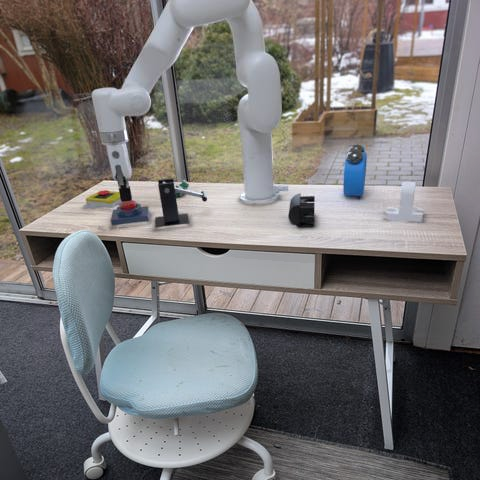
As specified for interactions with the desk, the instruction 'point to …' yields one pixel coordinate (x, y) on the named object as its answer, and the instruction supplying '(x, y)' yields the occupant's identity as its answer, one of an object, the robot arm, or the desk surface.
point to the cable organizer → (405, 206)
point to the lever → (191, 193)
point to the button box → (130, 215)
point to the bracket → (169, 205)
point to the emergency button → (103, 200)
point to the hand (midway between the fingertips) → (126, 200)
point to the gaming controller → (182, 187)
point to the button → (128, 205)
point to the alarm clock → (355, 171)
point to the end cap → (302, 211)
